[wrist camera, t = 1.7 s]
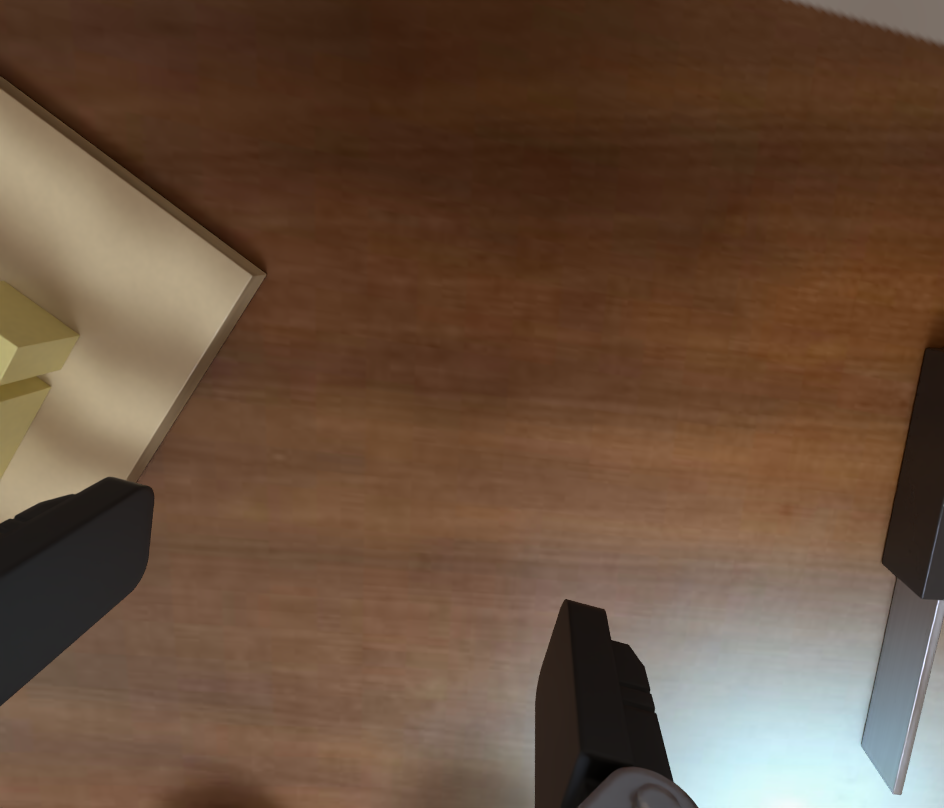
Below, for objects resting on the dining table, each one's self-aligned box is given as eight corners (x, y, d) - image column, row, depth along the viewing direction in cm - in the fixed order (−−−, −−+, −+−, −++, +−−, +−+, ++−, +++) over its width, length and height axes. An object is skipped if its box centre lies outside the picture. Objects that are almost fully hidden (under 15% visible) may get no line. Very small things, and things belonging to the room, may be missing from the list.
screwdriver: (925, 347, 26) (975, 360, 23) (976, 349, 26) (1032, 362, 23) (843, 744, 31) (876, 796, 28) (886, 748, 31) (923, 800, 28)
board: (-1, 74, 27) (-32, 64, 25) (267, 274, 28) (252, 275, 26) (-173, 454, 32) (-206, 464, 31) (56, 609, 33) (35, 625, 32)
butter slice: (3, 279, 27) (-71, 284, 24) (80, 335, 28) (17, 347, 24) (-15, 316, 28) (-90, 325, 24) (61, 370, 28) (-3, 386, 25)
